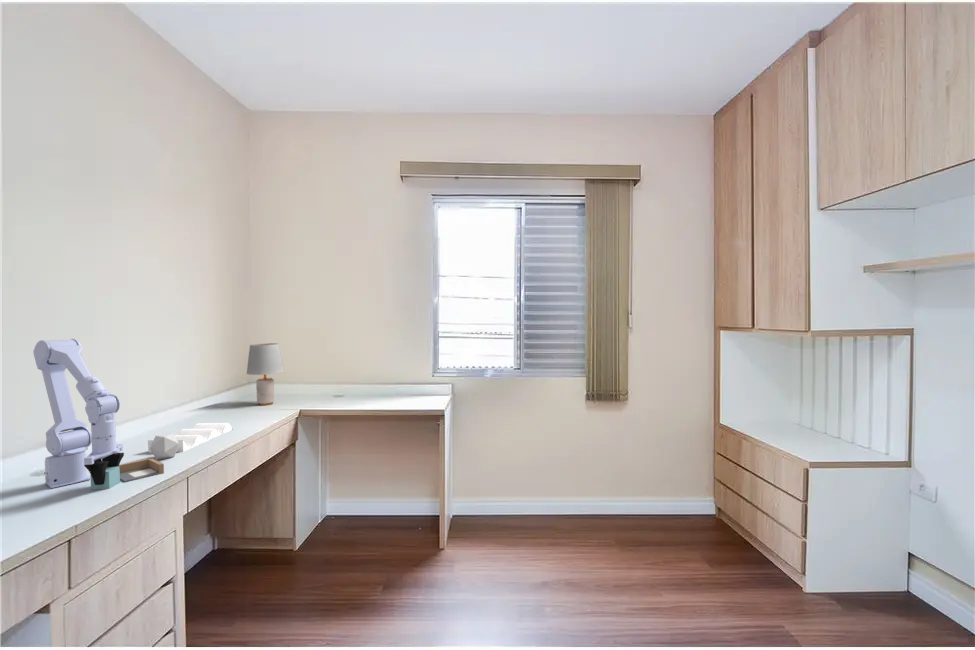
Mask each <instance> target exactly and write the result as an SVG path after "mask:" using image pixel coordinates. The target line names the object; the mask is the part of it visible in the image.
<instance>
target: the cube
mask: <svg viewBox="0 0 975 650" xmlns="http://www.w3.org/2000/svg"><path fill="white" fill-rule="evenodd" d="M89 474H90V473H89ZM89 477H90V478H91V479H90V490H103V489H104V490H107V489H111V488H113V487H114V486H117V485H118V484H120V483H121V480H120V468H119V466H117V467H106V472H105V481H104V484H103V485H95V484H94V481H93V478H92V476H91V474H90V476H89Z"/></svg>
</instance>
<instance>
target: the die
mask: <svg viewBox="0 0 975 650" xmlns="http://www.w3.org/2000/svg"><path fill="white" fill-rule="evenodd" d="M174 435H175V434H174V433H165V434H160V435H159V434H158V435H154V436H155V437H154V438H153V439H152V440H153V442H152V444H151V447H150V449H151V451H152V452H151V453H152V454H153V457H154V459H155V460H157V461H159V460H164V459H172V458H174V457H175V456H176V454H177V452H176V451H177V449H178V447H179V443H178V441H177V439H176V437H175V436H174Z"/></svg>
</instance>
